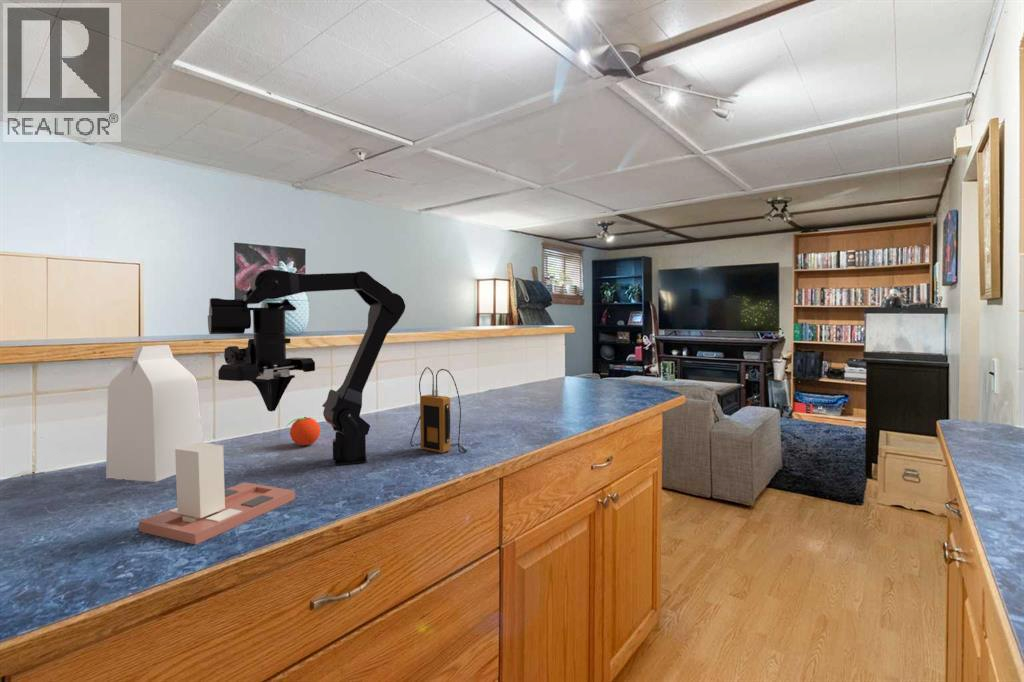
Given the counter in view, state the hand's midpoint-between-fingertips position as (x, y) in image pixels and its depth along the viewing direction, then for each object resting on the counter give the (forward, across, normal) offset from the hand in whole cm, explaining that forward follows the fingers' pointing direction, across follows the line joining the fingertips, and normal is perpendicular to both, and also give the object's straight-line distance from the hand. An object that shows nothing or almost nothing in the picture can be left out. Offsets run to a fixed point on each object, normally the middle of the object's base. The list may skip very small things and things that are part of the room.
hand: (271, 411), depth 96 cm
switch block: (+13, +18, +8) cm, 23 cm away
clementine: (+13, -20, -11) cm, 26 cm away
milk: (+13, +6, -25) cm, 29 cm away
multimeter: (+13, -31, +23) cm, 40 cm away
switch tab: (+13, +21, +8) cm, 26 cm away
